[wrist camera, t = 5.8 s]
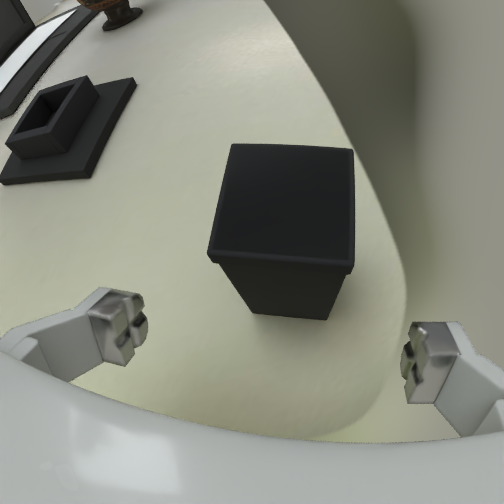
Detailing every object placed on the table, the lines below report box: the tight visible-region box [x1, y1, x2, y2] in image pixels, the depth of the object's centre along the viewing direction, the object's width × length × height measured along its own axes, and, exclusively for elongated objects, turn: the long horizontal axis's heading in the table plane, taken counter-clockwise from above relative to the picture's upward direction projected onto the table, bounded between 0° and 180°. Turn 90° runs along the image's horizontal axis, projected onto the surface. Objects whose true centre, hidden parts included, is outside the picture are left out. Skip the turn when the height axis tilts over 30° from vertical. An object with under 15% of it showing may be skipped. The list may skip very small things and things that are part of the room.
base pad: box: [0, 75, 137, 185], centre depth 26 cm, size 14×12×4 cm
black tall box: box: [207, 144, 355, 320], centre depth 14 cm, size 4×4×9 cm
